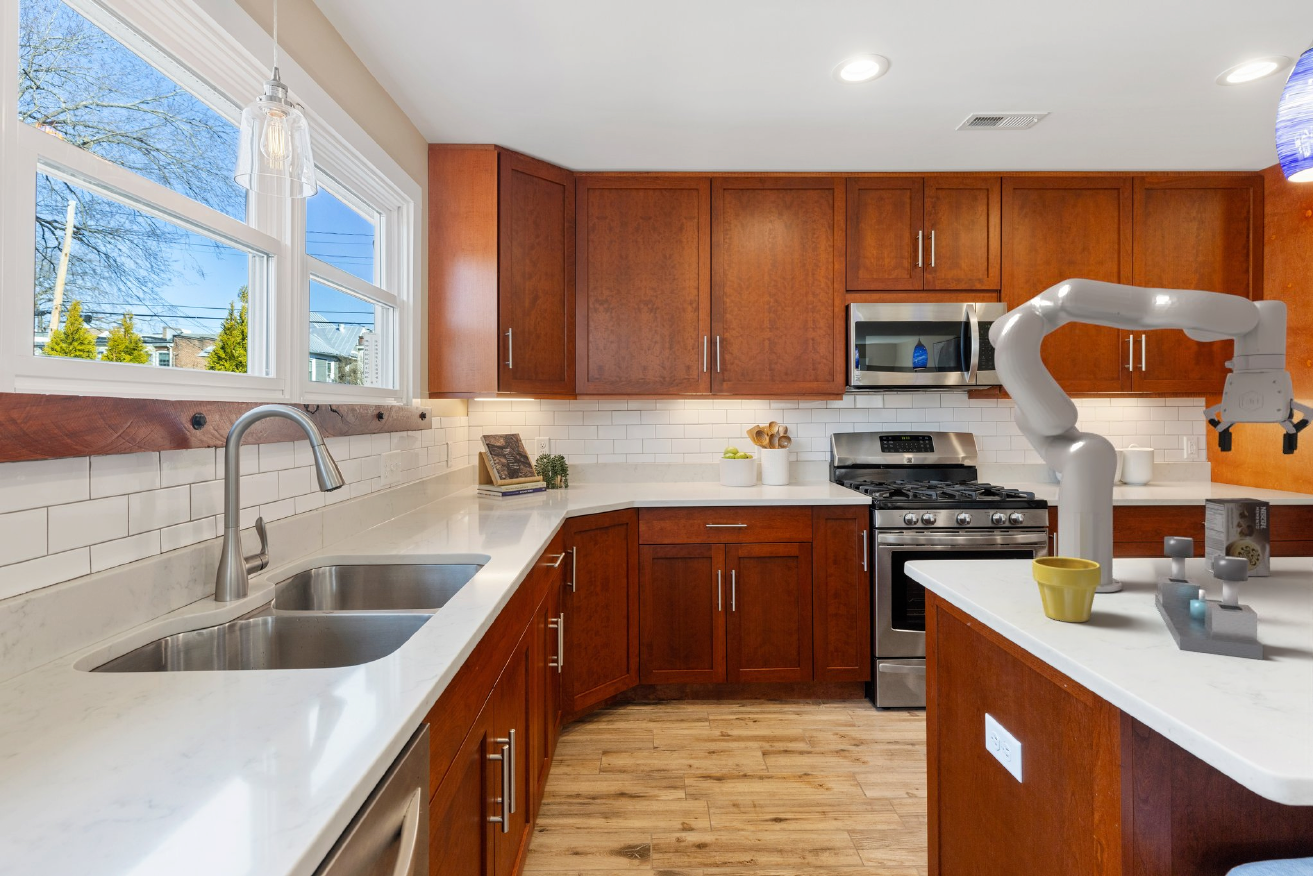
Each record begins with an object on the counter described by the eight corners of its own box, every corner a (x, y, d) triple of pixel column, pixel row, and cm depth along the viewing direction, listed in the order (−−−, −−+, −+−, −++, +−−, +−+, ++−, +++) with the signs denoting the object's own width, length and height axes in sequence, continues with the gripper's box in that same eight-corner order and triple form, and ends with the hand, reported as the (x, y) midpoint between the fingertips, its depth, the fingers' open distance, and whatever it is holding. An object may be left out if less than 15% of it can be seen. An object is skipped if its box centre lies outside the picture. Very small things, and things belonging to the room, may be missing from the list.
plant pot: (1019, 613, 121) (1018, 559, 121) (1058, 605, 125) (1058, 553, 125) (1074, 629, 112) (1074, 571, 111) (1114, 621, 116) (1115, 564, 116)
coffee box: (1247, 569, 149) (1248, 497, 148) (1271, 576, 143) (1272, 501, 142) (1203, 569, 150) (1203, 497, 149) (1224, 576, 144) (1225, 501, 143)
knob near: (1216, 605, 102) (1216, 559, 102) (1210, 599, 105) (1211, 554, 105) (1251, 609, 100) (1251, 561, 100) (1244, 602, 103) (1244, 556, 103)
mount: (1179, 649, 102) (1180, 610, 102) (1155, 605, 124) (1155, 573, 124) (1262, 659, 97) (1262, 618, 97) (1221, 611, 120) (1221, 578, 119)
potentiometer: (1192, 618, 110) (1192, 591, 110) (1188, 613, 113) (1188, 587, 113) (1215, 620, 109) (1215, 593, 108) (1211, 615, 111) (1211, 588, 111)
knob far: (1166, 579, 118) (1166, 538, 117) (1162, 574, 121) (1162, 535, 121) (1195, 581, 116) (1195, 540, 115) (1190, 576, 119) (1190, 536, 119)
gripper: (1197, 367, 137) (1194, 451, 138) (1310, 361, 122) (1307, 456, 122) (1214, 368, 141) (1211, 450, 141) (1326, 363, 125) (1323, 454, 126)
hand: (1256, 452), depth 132 cm, fingers open, 9 cm apart
